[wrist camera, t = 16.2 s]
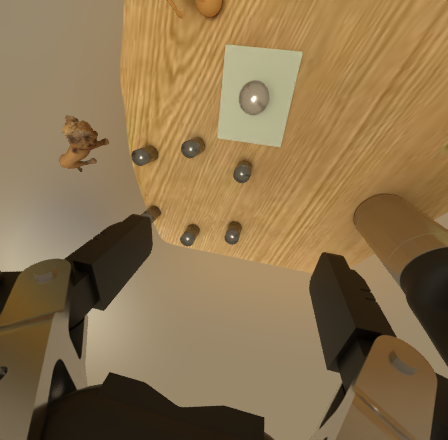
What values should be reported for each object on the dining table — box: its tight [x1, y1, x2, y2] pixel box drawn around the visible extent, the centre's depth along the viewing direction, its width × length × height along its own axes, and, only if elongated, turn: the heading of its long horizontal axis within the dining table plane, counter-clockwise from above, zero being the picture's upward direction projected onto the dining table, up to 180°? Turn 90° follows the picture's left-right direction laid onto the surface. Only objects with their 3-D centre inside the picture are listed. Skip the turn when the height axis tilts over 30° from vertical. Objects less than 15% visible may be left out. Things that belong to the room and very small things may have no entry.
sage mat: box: [217, 45, 303, 147], centre depth 36 cm, size 12×14×1 cm
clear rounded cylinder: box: [239, 80, 269, 115], centre depth 33 cm, size 4×4×6 cm
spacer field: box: [132, 137, 252, 246], centre depth 44 cm, size 23×23×5 cm
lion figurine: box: [59, 116, 109, 172], centre depth 42 cm, size 15×5×9 cm, turn 140°
